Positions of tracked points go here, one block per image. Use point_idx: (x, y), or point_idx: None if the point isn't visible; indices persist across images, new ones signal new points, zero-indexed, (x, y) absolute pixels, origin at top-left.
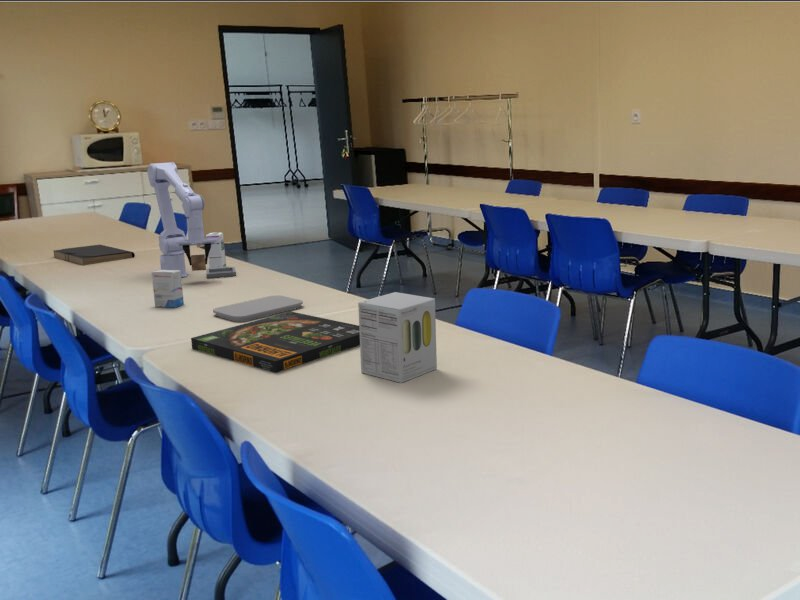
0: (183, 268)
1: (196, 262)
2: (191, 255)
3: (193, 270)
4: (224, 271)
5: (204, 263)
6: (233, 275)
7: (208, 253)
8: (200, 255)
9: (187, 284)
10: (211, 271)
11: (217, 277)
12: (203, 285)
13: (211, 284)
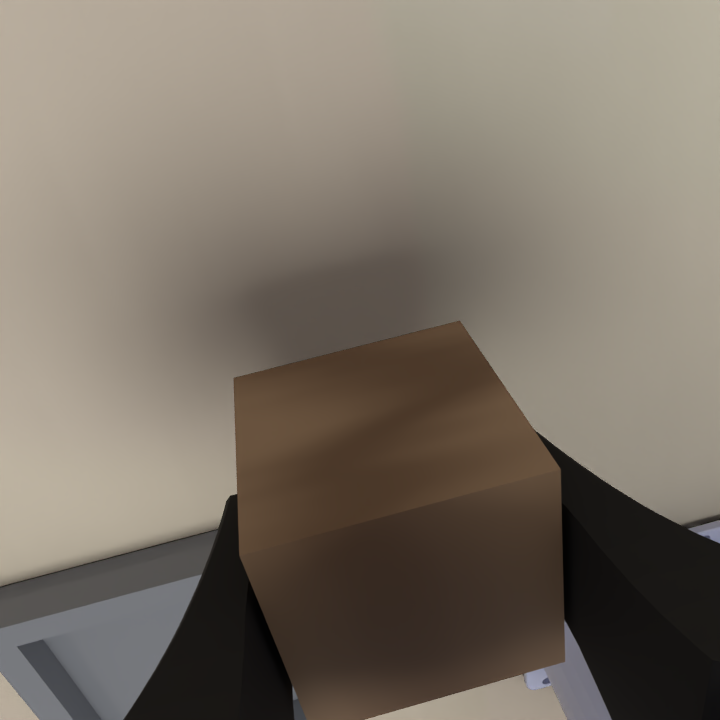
0: (575, 660)
1: (412, 422)
2: (555, 647)
3: (439, 327)
4: None
5: (253, 443)
6: (13, 594)
7: (156, 669)
8: (374, 650)
9: (479, 253)
10: None
11: (190, 540)
12: (247, 152)
13: (143, 204)
